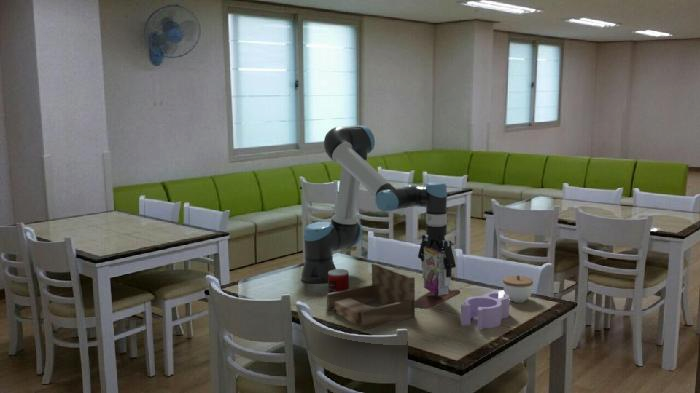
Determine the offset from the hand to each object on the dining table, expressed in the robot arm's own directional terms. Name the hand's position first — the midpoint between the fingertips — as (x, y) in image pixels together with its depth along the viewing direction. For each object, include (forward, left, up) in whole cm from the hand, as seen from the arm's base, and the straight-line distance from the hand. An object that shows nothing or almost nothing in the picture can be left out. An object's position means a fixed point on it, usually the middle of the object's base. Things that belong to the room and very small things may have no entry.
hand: (436, 281), depth 239 cm
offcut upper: (-2, -35, -5) cm, 36 cm away
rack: (-2, -28, -7) cm, 29 cm away
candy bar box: (0, 0, -4) cm, 4 cm away
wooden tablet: (-2, 0, -8) cm, 8 cm away
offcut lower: (-2, -35, -8) cm, 36 cm away
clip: (+26, 0, -7) cm, 27 cm away
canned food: (-21, -30, -7) cm, 37 cm away
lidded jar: (+18, +24, -7) cm, 31 cm away
